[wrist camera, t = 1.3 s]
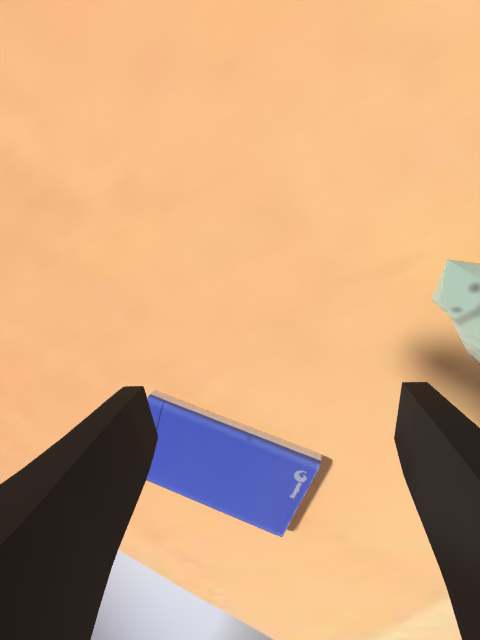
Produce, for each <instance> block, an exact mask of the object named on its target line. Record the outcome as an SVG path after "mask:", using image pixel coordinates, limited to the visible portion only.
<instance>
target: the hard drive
mask: <svg viewBox="0 0 480 640" xmlns="http://www.w3.org/2000/svg"><path fill="white" fill-rule="evenodd" d="M148 403H149V407H150V410H151V413H152V417H153V420H154V423H155V427H156V430H157V434H158V441H157V445H156V449H155V453H154V457H153V460H152V464H151V467H150V471H149V473H148V476H147V479H146V480H147V481H150V482H152V483H154V484H157V485H159V486H162V487H164V488H166V489H169V490H171V491H173V492H176V493H178V494H181V495H183V496H185V497H188V498H190V499H192V500H195V501H197V502H199V503H202V504H204V505H206V506H209V507H211V508H213V509H216V510H218V511H221V512H223V513H225V514H228V515H230V516H232V517H235V518H237V519H239V520H242V521H244V522H247V523H249V524H251V525H254V526H256V527H258V528H261V529H263V530H266V531H268V532H270V533H273V534H275V535H278V536H280V537H282V536H283V535H284V533H285V531H286V529H287V527H288V526H289V524H290V522H291V520H292V518H293V516H294V514H295V513H296V511H297V509H298V507H299V505H300V503H301V501H302V499H303V498H304V496H305V494H306V492H307V490H308V488H309V486H310V485H311V483H312V481H313V479H314V477H315V476H316V474H317V472H318V470H319V467H320V465H321V454H319V453H316V452H313V451H311V450H308V449H306V448H303V447H300V446H298V445H295V444H293V443H290V442H287V441H285V440H282V439H280V438H277V437H275V436H272V435H269V434H267V433H264V432H262V431H259V430H256V429H254V428H251V427H249V426H246V425H243V424H241V423H238V422H236V421H233V420H230V419H228V418H225V417H223V416H220V415H217V414H215V413H212V412H210V411H207V410H204V409H202V408H199V407H197V406H194V405H191V404H189V403H186V402H184V401H181V400H178V399H176V398H173V397H171V396H168V395H165V394H163V393H160V392H158V391H155V390H153V391H152V392H151V394H150V395H149V396H148Z"/></svg>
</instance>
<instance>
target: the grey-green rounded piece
mask: <svg viewBox="0 0 480 640" xmlns="http://www.w3.org/2000/svg"><path fill="white" fill-rule="evenodd" d="M432 301H433V302H434V303H436V304H437V305H438V306H439V307H440V308H441V309H442V310H443V311H445V312H446V313H447V314H448V315H449V316H450V318H451V320H452V322H453V324H454V326H455V328H456V330H457V332H458V334H459V336H460V338H461V340H462V342H463V344H464V346H465V348H466V350H467V352H468V354H469V355H470V356H471V357H472V358H473V359H474V360H475V361H476V362H477V363H478V364H479V365H480V264H477V263H470V262H462V261H455V260H447V262H446V264H445V267H444V269H443V272H442V274H441V277H440V279H439V282H438V284H437V287H436V290H435V292H434V295H433V297H432Z"/></svg>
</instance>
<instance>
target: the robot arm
mask: <svg viewBox="0 0 480 640" xmlns="http://www.w3.org/2000/svg"><path fill="white" fill-rule="evenodd" d="M394 439H395V443H396V447H397V451H398V456H399V459H400V463H401V467H402V471H403V474H404V477H405V480H406V483H407V485H408V488H409V490H410V493H411V496H412V498H413V501H414V503H415V506H416V509H417V511H418V514H419V516H420V519H421V521H422V524H423V526H424V529H425V531H426V534H427V537H428V539H429V542H430V544H431V547H432V549H433V552H434V554H435V557H436V559H437V562H438V565H439V567H440V570H441V573H442V576H443V579H444V581H445V584H446V587H447V590H448V593H449V597H450V600H451V604H452V607H453V610H454V614H455V617H456V620H457V624H458V627H459V631H460V634H461V637H462V640H480V428H479V427H478V426H477V425H476V424H474V423H473V422H472V421H471V420H470V419H468V418H467V417H466V416H465V415H464V414H463V413H462V412H460V411H459V410H458V409H457V408H456V407H455V406H454V405H452V404H451V403H450V402H449V401H448V400H447V399H446V398H445V397H443V396H442V395H441V394H440V393H439V392H438V391H437V390H435V389H434V388H433V387H432V386H431V385H430V384H429V383H427V382H402V388H401V395H400V402H399V409H398V416H397V423H396V430H395V437H394ZM157 441H158V434H157V430H156V427H155V423H154V420H153V417H152V413H151V410H150V407H149V403H148V400H147V396H146V393H145V390H144V386H129V387H123V388H122V389H120V390H119V391H118V392H116V393H115V394H114V395H113V396H111V397H110V398H109V399H108V400H107V401H106V402H104V403H103V404H102V405H101V406H100V407H98V408H97V409H96V410H95V411H94V412H93V413H91V414H90V415H89V416H88V417H87V418H85V419H84V420H83V421H82V422H81V423H79V424H78V425H77V426H76V427H75V428H73V429H72V430H71V431H70V432H69V433H68V434H66V435H65V436H64V437H63V438H61V439H60V440H59V441H58V442H56V443H55V444H54V445H52V446H51V447H50V448H49V449H47V450H46V451H45V452H43V453H42V454H41V455H40V456H38V457H37V458H36V459H34V460H33V461H32V462H31V463H29V464H28V465H27V466H25V467H24V468H23V469H21V470H20V471H19V472H17V473H16V474H14V475H13V476H12V477H10V478H9V479H7V480H6V481H5V482H3V483H2V484H0V640H90V639H91V636H92V632H93V629H94V625H95V621H96V618H97V614H98V610H99V607H100V604H101V601H102V597H103V594H104V591H105V587H106V584H107V581H108V578H109V574H110V571H111V568H112V565H113V562H114V560H115V557H116V554H117V551H118V548H119V546H120V544H121V541H122V539H123V536H124V534H125V531H126V529H127V526H128V524H129V521H130V519H131V516H132V514H133V511H134V509H135V506H136V504H137V501H138V499H139V496H140V494H141V491H142V489H143V486H144V484H145V481H146V479H147V476H148V473H149V471H150V467H151V464H152V460H153V457H154V453H155V449H156V445H157Z"/></svg>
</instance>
